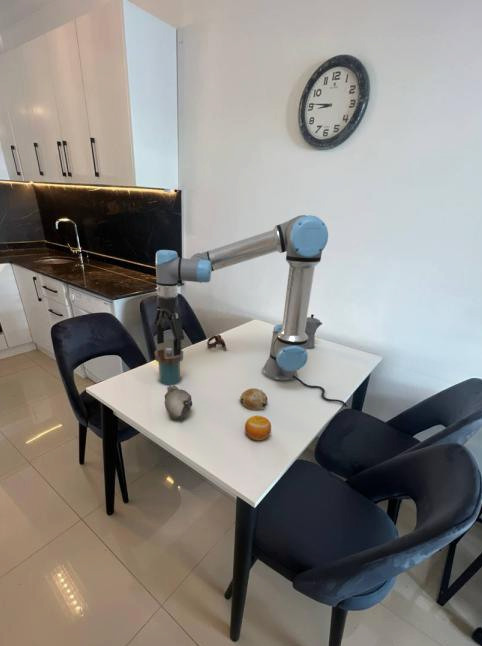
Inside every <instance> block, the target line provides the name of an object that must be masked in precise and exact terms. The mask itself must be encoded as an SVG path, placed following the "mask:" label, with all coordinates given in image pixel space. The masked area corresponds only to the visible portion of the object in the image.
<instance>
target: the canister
mask: <svg viewBox="0 0 482 646" xmlns="http://www.w3.org/2000/svg"><path fill="white" fill-rule="evenodd" d="M157 363H158V380H159V382H160V383H161V384H162V385H165V386H176V385H177V384H179V383H180V382H181V361H180V362H178V363H174V364H163V363H160V362H157Z"/></svg>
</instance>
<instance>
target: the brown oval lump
mask: <svg viewBox="0 0 482 646" xmlns="http://www.w3.org/2000/svg"><path fill="white" fill-rule="evenodd" d="M239 400H240V401H241V402H240V403H241V404H242V406H243V407H245V408H246V410H247V409H248V410H252V411H260V410H261V411H262V410H264V409H265V407H266V406H267V404H268V396H267V394H266V392H264V391H263V390H262V389H259V388H248V389H246V390H244V391H243V392H242V393H241V395H240V396H239Z"/></svg>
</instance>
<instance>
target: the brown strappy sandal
mask: <svg viewBox="0 0 482 646" xmlns="http://www.w3.org/2000/svg"><path fill="white" fill-rule="evenodd" d="M213 340H214V342H212V341H213ZM211 342H212V343H211ZM206 344H207V345H206V347H207V348H208V349H214V348H215V349H218V347H217V345H218V346H221V347H222V348H223V349H224V351H225V352H226V351H227V346H226V345H227V344H226V342H225V340H224V338H222V335H220V334H216V335H212V336H210V337H209V338H208V339H207V342H206Z"/></svg>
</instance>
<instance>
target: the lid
mask: <svg viewBox="0 0 482 646" xmlns="http://www.w3.org/2000/svg"><path fill="white" fill-rule="evenodd" d="M154 360H155V361H156V362H157V363H158V362H160V363H163V364H174V363H178V362H180V363H181V362H182V361H183V360H184V350H182V349H181V355H177V356H174V346H163V347H160V348H157V349H156V350H155V351H154Z"/></svg>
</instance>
